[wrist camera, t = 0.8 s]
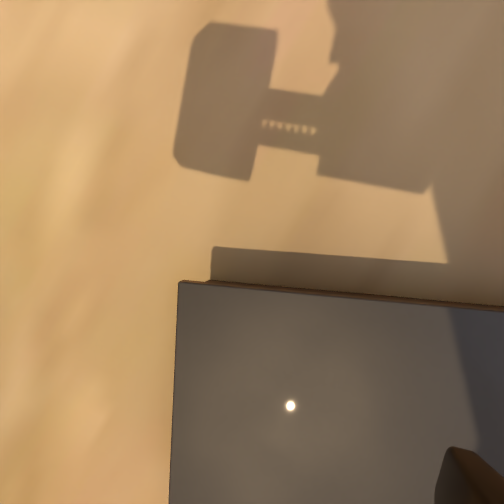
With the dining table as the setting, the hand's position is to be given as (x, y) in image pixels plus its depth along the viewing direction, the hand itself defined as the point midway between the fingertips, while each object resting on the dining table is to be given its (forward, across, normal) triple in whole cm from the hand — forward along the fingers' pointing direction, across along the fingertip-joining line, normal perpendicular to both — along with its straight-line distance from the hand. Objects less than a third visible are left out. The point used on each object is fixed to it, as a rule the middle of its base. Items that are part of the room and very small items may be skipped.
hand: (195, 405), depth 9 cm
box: (+13, -5, +6) cm, 15 cm away
